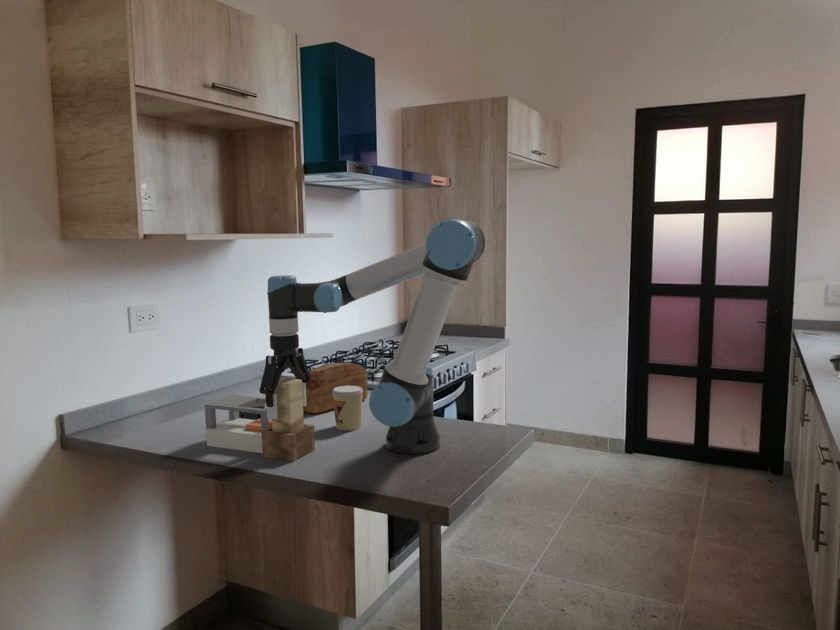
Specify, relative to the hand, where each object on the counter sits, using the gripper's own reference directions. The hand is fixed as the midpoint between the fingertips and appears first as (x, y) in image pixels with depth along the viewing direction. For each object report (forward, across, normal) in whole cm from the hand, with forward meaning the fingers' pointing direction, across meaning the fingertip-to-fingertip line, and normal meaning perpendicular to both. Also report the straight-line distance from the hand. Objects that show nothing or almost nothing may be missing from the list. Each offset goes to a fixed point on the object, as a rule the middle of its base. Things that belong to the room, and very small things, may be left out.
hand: (287, 412), depth 178 cm
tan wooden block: (+11, 0, 0) cm, 11 cm away
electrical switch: (+12, -16, -25) cm, 32 cm away
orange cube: (+11, -4, -12) cm, 16 cm away
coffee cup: (+12, -28, +3) cm, 30 cm away
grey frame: (+11, -4, -16) cm, 20 cm away
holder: (+11, 0, 0) cm, 11 cm away
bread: (+12, -48, -15) cm, 52 cm away
